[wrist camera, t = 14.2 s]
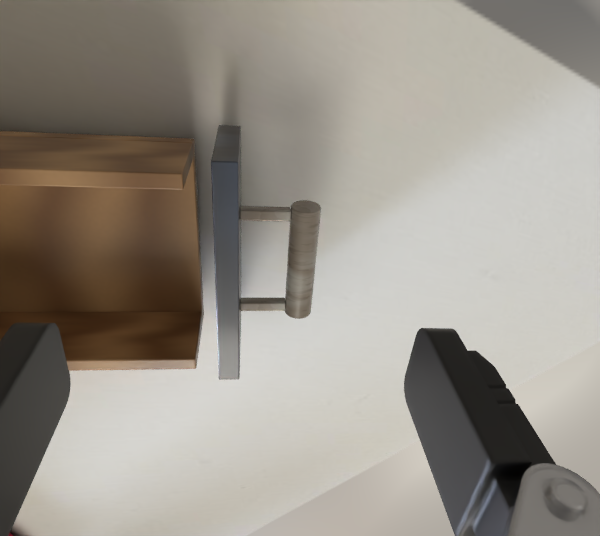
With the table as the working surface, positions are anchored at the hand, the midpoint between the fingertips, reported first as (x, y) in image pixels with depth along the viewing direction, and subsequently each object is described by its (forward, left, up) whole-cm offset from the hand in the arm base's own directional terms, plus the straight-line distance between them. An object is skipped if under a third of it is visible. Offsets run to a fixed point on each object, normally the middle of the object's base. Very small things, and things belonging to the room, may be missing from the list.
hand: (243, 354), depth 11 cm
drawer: (+6, -8, -18) cm, 20 cm away
